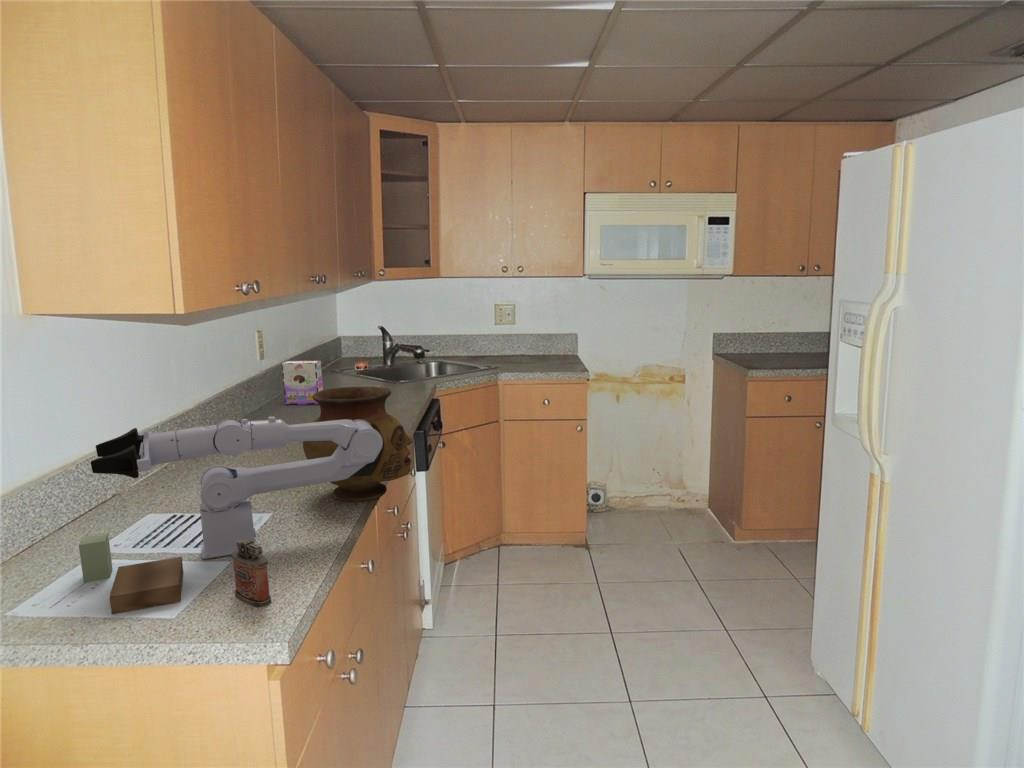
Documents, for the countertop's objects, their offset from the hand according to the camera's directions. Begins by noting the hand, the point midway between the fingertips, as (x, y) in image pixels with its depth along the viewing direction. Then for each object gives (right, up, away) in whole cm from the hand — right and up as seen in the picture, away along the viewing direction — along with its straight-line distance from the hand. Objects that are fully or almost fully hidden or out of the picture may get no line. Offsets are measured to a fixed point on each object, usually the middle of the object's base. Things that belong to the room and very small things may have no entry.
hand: (94, 458), depth 125 cm
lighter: (+31, -22, -9) cm, 40 cm away
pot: (+38, -13, +43) cm, 59 cm away
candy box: (-6, +6, +149) cm, 149 cm away
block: (0, -21, +1) cm, 21 cm away
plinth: (+13, -22, -6) cm, 26 cm away
